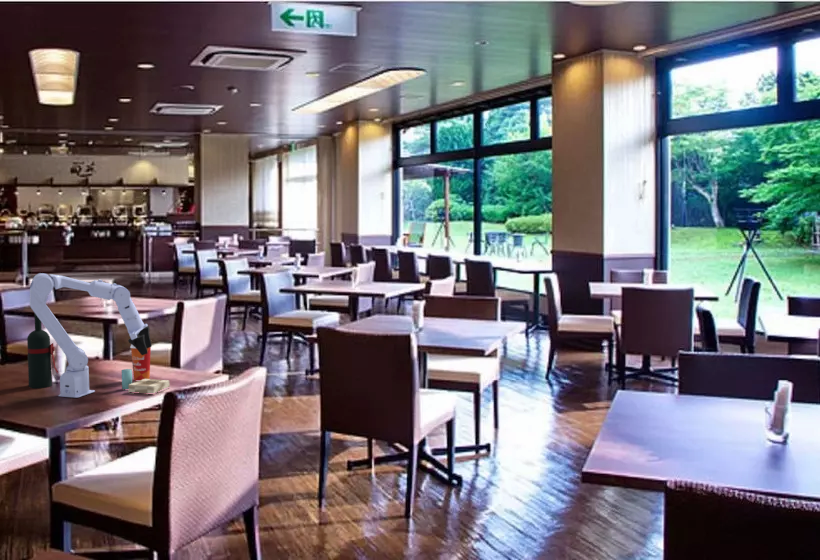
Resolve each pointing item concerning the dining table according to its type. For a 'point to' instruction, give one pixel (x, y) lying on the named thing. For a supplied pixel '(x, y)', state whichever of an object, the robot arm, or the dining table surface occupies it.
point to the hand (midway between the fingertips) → (146, 350)
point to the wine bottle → (39, 357)
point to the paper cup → (140, 364)
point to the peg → (126, 378)
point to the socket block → (148, 386)
